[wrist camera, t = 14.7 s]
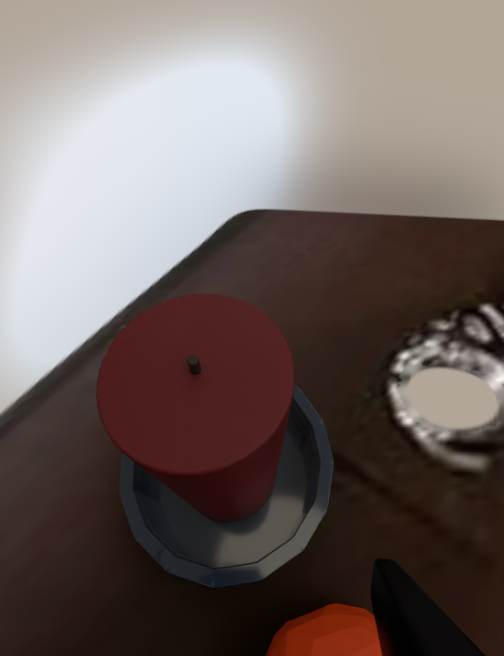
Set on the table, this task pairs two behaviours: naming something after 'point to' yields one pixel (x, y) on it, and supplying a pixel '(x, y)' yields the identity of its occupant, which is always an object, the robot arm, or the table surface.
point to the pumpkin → (328, 634)
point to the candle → (201, 400)
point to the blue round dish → (243, 536)
